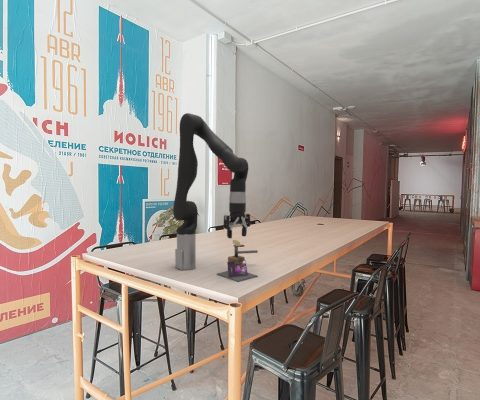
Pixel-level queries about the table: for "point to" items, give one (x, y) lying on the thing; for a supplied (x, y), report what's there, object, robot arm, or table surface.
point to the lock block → (233, 258)
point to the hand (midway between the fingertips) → (236, 237)
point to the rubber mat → (238, 278)
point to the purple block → (238, 269)
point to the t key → (241, 251)
